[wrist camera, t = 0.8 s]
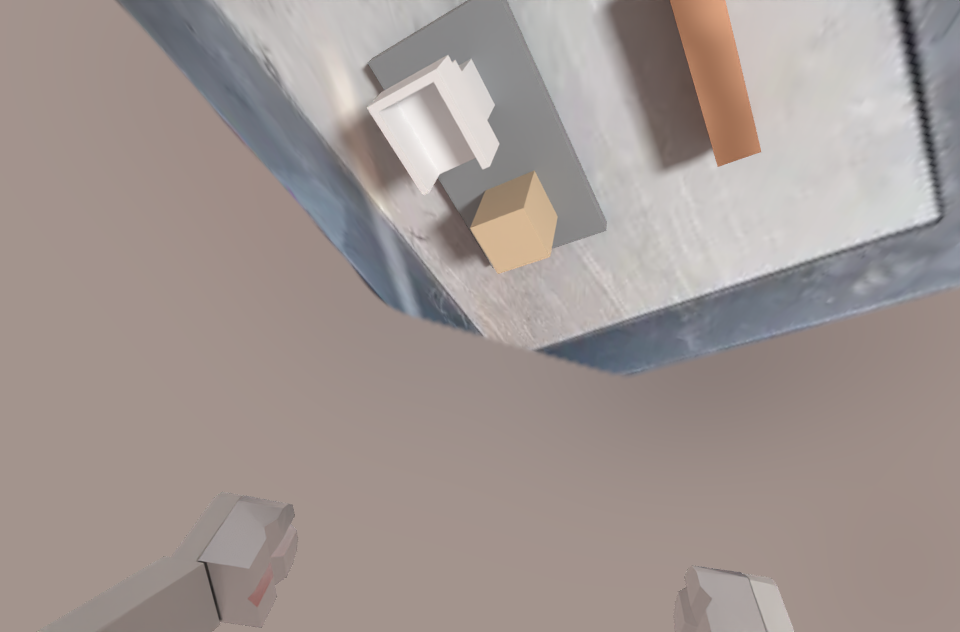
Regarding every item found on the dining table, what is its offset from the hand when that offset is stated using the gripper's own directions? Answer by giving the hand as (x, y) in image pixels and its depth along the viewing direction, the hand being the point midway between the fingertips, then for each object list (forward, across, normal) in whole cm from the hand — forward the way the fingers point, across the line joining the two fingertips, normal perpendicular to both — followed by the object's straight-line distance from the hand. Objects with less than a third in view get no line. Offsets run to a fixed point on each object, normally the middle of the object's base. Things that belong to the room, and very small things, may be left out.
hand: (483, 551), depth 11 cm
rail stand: (+42, +4, +1) cm, 43 cm away
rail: (+40, -11, -8) cm, 42 cm away
